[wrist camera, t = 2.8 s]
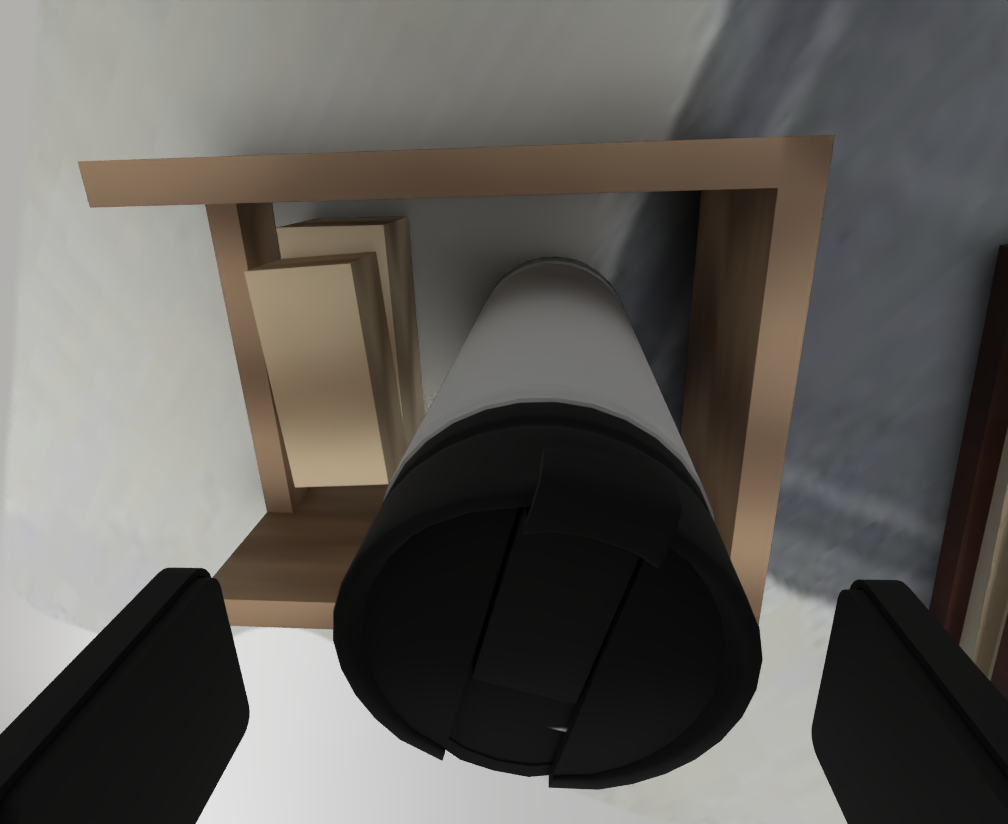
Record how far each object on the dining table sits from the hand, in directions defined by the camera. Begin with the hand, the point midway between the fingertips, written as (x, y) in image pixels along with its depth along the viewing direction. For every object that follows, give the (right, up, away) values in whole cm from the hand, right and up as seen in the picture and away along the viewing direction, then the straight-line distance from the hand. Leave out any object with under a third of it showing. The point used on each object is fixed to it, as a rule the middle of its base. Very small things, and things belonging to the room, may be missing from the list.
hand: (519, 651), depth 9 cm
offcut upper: (-6, +6, +15) cm, 17 cm away
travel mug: (+2, +7, +18) cm, 19 cm away
